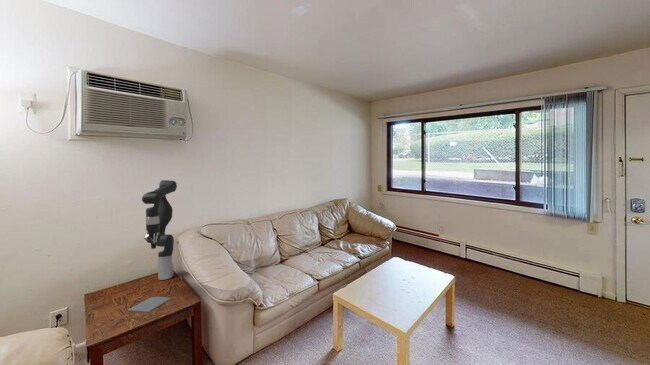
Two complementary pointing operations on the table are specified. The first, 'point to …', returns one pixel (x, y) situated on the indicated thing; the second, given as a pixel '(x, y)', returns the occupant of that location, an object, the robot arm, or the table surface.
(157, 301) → the mat
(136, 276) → the table surface
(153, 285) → the table surface
